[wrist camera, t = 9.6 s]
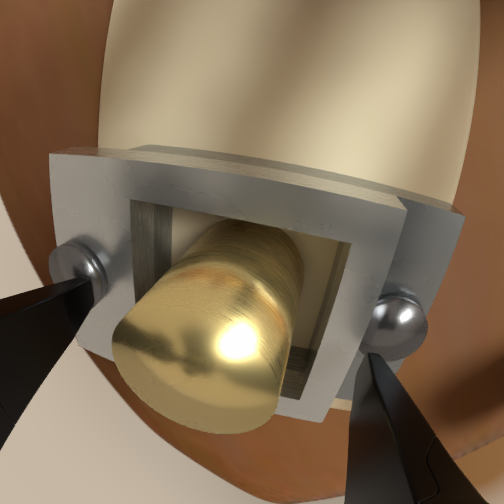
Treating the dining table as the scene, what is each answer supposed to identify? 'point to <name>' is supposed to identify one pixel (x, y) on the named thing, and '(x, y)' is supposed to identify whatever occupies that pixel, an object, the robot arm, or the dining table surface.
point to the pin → (216, 330)
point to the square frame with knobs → (267, 213)
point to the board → (297, 97)
